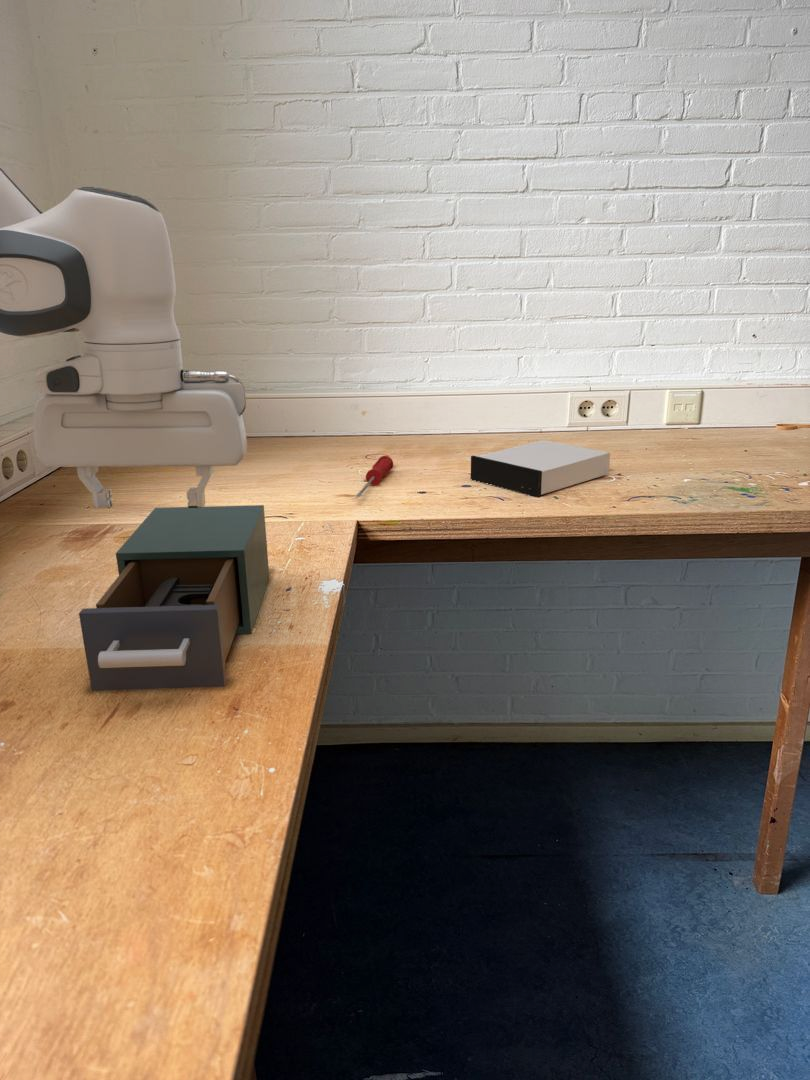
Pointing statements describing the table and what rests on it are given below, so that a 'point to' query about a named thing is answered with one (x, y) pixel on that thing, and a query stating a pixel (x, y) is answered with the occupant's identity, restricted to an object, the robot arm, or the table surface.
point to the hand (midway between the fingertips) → (150, 507)
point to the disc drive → (539, 467)
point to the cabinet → (208, 546)
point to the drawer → (162, 627)
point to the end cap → (178, 594)
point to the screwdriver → (377, 472)
